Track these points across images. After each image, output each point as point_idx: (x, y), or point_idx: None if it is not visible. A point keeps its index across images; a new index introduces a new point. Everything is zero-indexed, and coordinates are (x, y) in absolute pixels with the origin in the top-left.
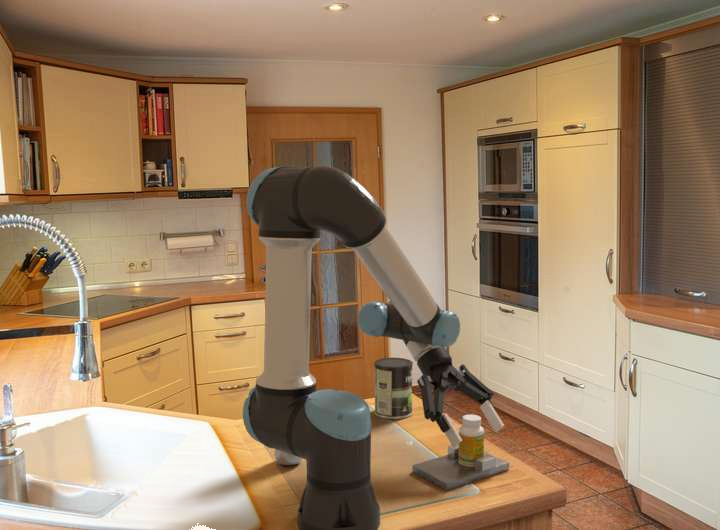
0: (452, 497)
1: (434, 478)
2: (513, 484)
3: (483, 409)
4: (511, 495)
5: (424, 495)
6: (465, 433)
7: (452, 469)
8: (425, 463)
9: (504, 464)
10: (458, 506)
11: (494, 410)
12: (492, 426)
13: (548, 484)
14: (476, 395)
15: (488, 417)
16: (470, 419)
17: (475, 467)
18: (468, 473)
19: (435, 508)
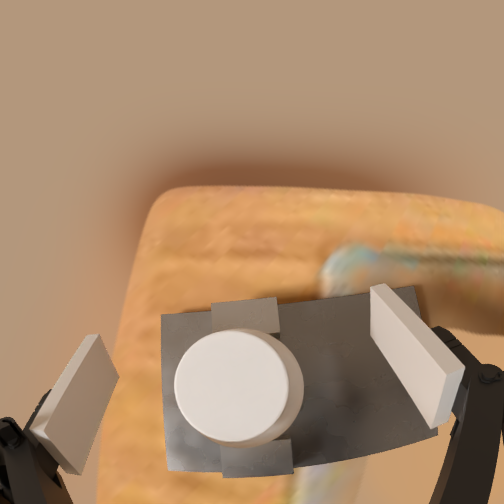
0: (408, 258)
1: None
2: (227, 245)
3: (80, 447)
4: (274, 205)
5: (460, 295)
6: (298, 364)
7: (352, 360)
8: (399, 434)
9: (181, 313)
10: (413, 219)
11: (58, 383)
12: (110, 390)
13: (159, 211)
14: (55, 498)
15: (94, 413)
16: (263, 359)
17: (280, 335)
18: (324, 313)
19: (457, 234)
